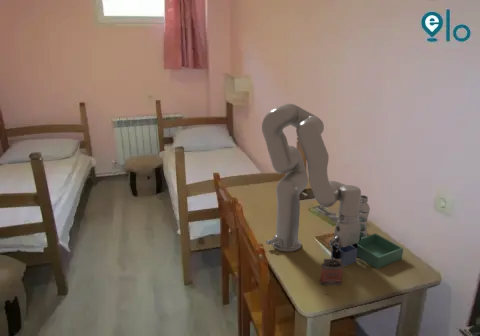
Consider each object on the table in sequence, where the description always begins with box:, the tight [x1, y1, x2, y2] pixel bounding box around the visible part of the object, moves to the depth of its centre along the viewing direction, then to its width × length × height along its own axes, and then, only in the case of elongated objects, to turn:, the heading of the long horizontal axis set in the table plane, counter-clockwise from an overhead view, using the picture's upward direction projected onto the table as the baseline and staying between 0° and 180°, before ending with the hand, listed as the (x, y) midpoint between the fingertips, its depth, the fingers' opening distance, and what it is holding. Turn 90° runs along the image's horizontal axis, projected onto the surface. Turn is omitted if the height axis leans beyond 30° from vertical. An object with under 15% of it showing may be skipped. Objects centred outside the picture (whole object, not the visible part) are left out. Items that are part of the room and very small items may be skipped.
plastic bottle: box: [358, 194, 371, 238], centre depth 169 cm, size 6×7×20 cm
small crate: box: [330, 245, 358, 267], centre depth 155 cm, size 7×7×6 cm
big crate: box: [357, 233, 404, 270], centre depth 158 cm, size 14×14×5 cm
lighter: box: [319, 258, 345, 286], centre depth 139 cm, size 8×3×10 cm, turn 92°
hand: (344, 255), depth 155 cm, fingers open, 9 cm apart
